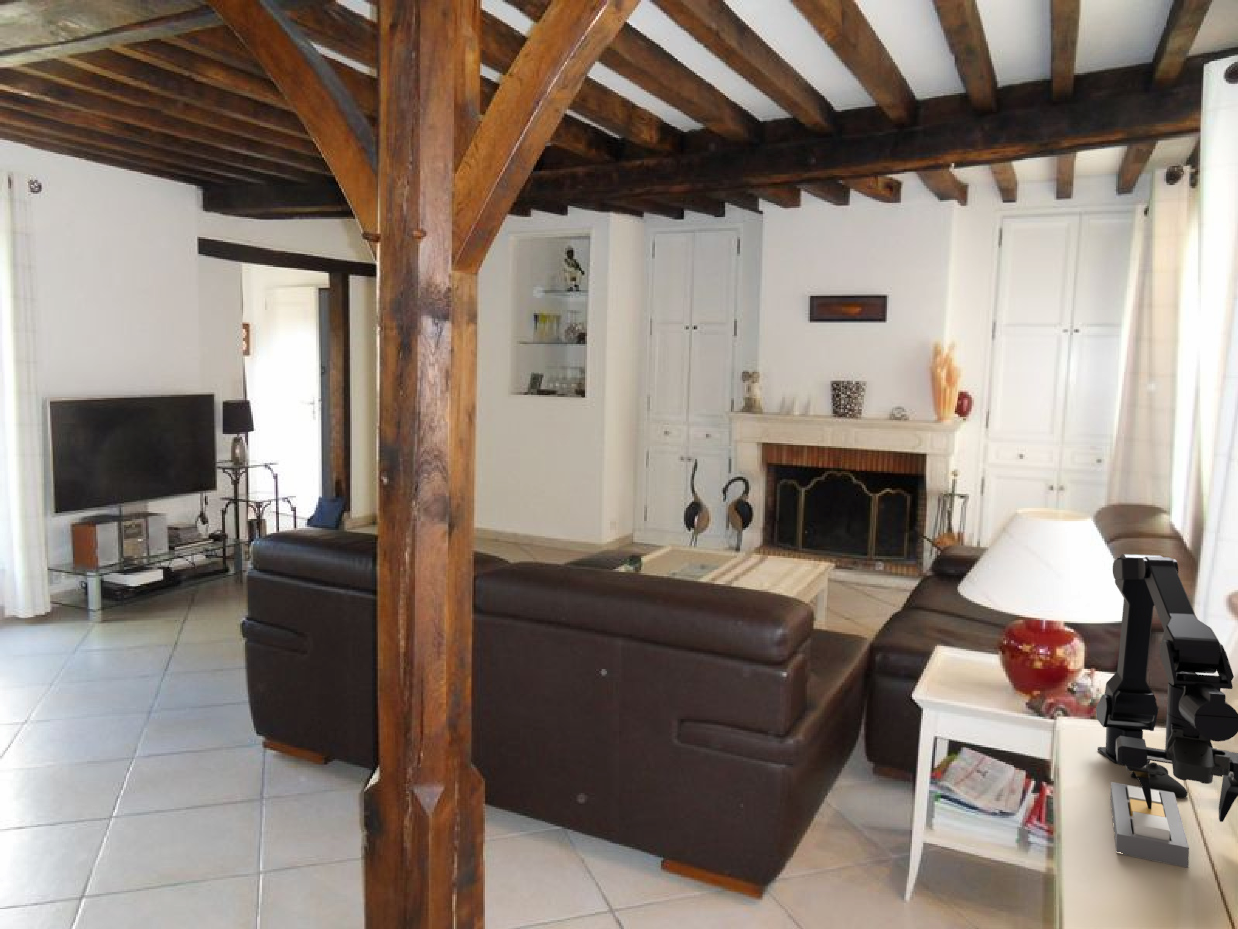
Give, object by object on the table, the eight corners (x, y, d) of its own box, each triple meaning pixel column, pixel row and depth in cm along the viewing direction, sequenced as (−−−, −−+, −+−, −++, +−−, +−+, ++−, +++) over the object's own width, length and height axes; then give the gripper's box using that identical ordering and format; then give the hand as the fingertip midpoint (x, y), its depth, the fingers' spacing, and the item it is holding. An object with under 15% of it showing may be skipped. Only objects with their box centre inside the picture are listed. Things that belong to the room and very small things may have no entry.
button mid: (1129, 811, 138) (1129, 799, 138) (1161, 817, 136) (1162, 804, 136) (1131, 823, 134) (1131, 811, 134) (1164, 829, 132) (1165, 817, 132)
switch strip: (1110, 799, 146) (1111, 782, 146) (1173, 810, 142) (1174, 792, 142) (1116, 853, 129) (1117, 834, 129) (1188, 867, 125) (1189, 847, 125)
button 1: (1126, 797, 144) (1127, 785, 144) (1158, 802, 142) (1158, 790, 142) (1128, 808, 140) (1129, 796, 140) (1160, 814, 138) (1161, 802, 138)
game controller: (1192, 795, 146) (1165, 769, 146) (1166, 815, 147) (1140, 789, 147) (1168, 771, 155) (1143, 746, 155) (1144, 790, 156) (1119, 765, 157)
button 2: (1132, 824, 133) (1132, 811, 133) (1166, 830, 131) (1166, 817, 131) (1134, 837, 129) (1134, 824, 129) (1169, 844, 127) (1169, 830, 127)
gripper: (1121, 723, 129) (1117, 824, 130) (1276, 745, 120) (1270, 853, 122) (1117, 699, 139) (1113, 793, 140) (1260, 718, 130) (1255, 818, 132)
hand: (1184, 814), depth 133 cm, fingers open, 9 cm apart
